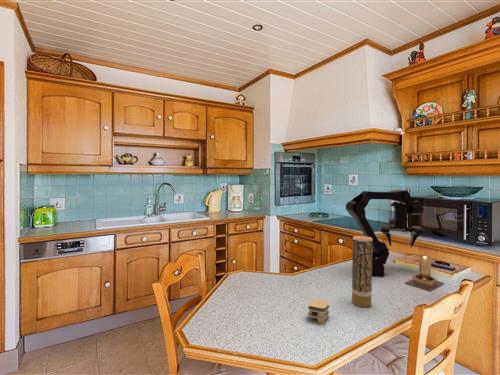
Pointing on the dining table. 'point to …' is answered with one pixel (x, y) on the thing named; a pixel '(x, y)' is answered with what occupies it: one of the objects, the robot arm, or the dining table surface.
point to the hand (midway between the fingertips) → (400, 246)
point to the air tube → (425, 267)
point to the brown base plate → (424, 283)
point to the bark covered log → (362, 271)
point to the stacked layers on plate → (319, 310)
